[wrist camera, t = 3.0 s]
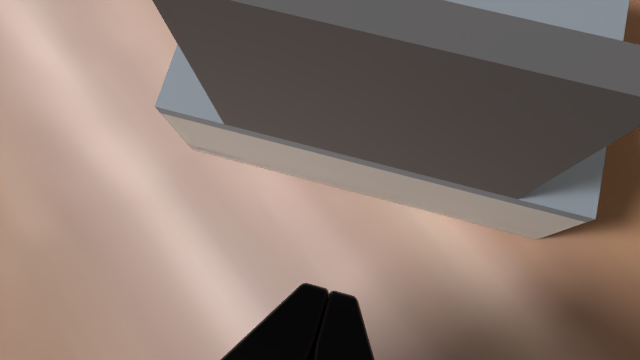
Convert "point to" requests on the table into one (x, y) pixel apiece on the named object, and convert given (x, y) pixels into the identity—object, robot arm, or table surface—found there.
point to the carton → (370, 181)
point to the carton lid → (419, 87)
